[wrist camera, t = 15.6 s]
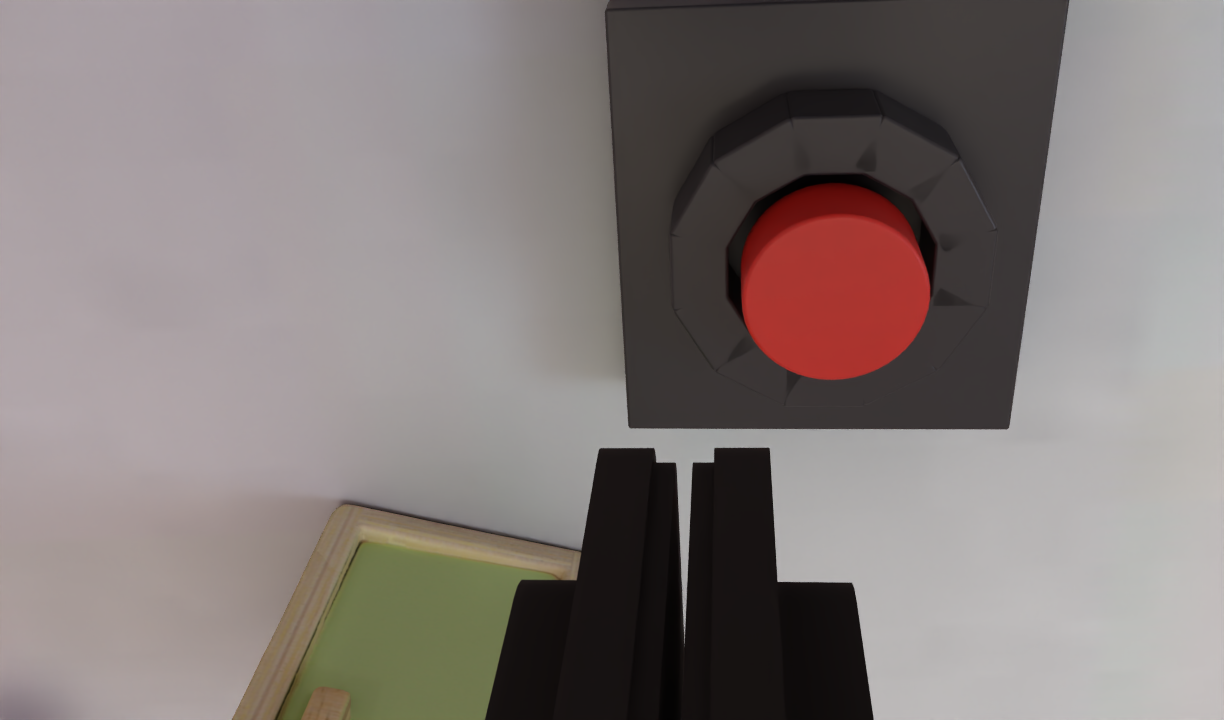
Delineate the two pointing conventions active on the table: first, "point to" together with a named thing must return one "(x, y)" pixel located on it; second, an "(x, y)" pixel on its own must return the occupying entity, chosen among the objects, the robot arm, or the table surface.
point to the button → (833, 282)
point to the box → (817, 154)
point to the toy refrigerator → (396, 621)
